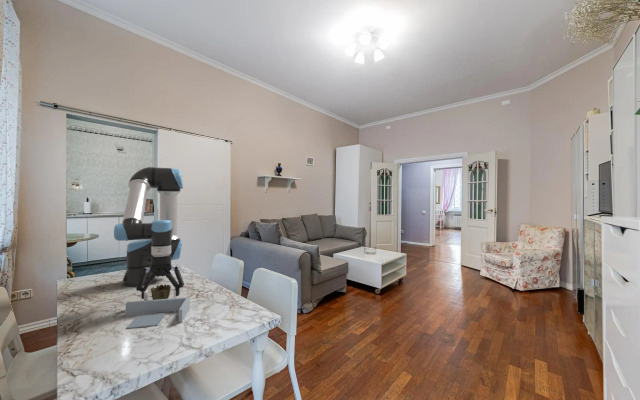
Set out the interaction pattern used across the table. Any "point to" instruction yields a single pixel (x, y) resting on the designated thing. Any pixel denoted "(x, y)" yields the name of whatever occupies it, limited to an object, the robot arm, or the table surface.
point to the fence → (159, 306)
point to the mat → (146, 320)
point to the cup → (160, 292)
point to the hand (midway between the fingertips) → (160, 304)
